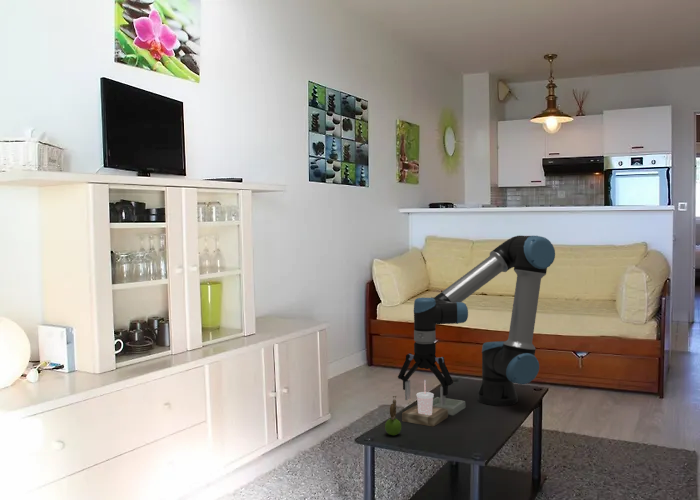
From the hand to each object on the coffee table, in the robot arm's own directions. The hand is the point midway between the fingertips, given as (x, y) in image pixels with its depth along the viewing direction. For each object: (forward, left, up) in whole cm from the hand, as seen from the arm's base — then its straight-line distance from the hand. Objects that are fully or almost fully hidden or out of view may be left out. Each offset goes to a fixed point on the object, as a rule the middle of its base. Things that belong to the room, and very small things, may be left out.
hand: (425, 401), depth 225 cm
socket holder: (0, 0, -6) cm, 6 cm away
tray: (-1, -15, -6) cm, 16 cm away
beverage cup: (0, 0, -6) cm, 6 cm away
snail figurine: (+2, +20, -6) cm, 21 cm away
